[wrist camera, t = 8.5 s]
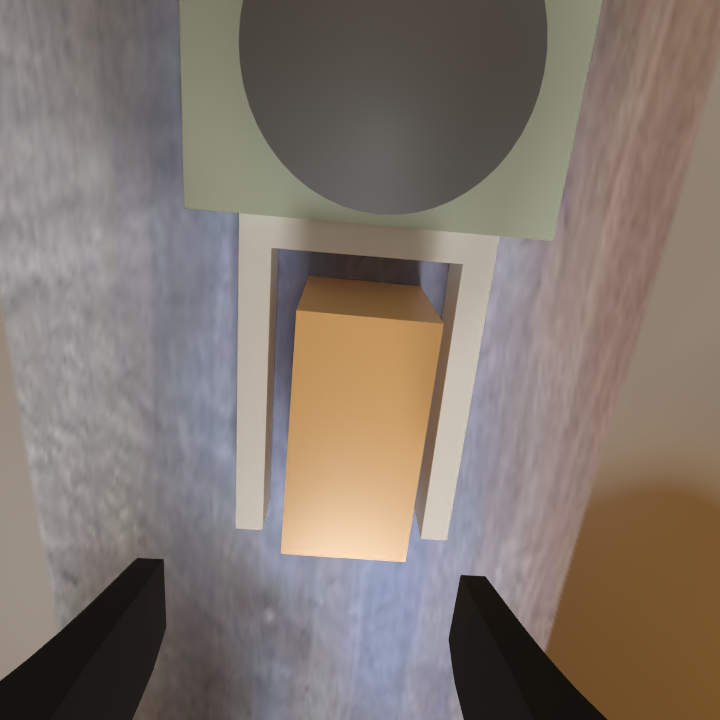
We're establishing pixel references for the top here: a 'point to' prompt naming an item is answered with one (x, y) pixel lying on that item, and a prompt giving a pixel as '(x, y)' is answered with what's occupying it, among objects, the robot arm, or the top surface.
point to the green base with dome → (378, 168)
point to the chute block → (358, 417)
